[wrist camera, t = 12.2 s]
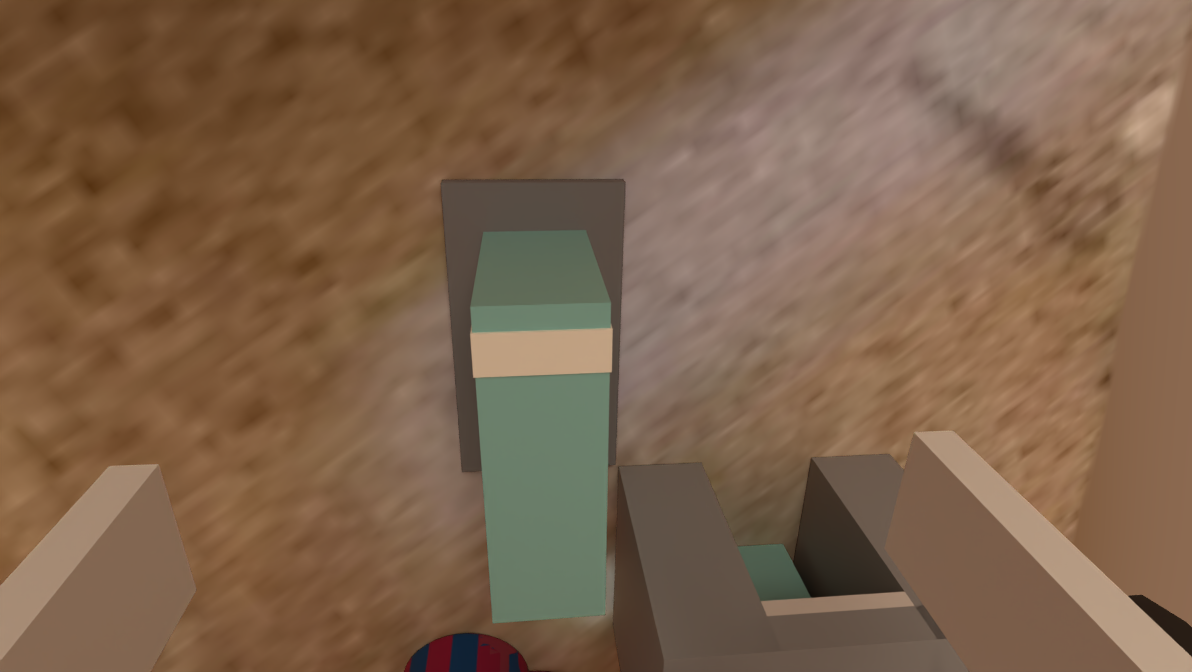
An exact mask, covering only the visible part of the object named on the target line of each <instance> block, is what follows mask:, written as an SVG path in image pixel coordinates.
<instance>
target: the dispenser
mask: <svg viewBox="0 0 1192 672" xmlns="http://www.w3.org/2000/svg"><path fill="white" fill-rule="evenodd" d="M903 473H904V470H903V469H902V468H901V466H900V465H899V464H898V463H897V462H896V461H895V460H894V459H893V457H892V456H891V455H890V454H880V455H858V456H836V457H814V458H812V459H811V464H810V470H809V476H808V482H807V488H806V493H805V499H804V505H803V511H802V517H801V522H800V528H799V534H798V540H797V546H796V551H795V557H794V563H793V562H792V560H791V558H790V556H789V554H788V552H787V550H786V549H785V547H784V545H783V544H770V545H753V546H737V545H736V542H735V540H734V538H733V535H732V533H731V531H730V528H729V526H728V524H727V521H726V519H725V517H724V514H723V512H722V510H721V507H720V505H719V503H718V500H717V498H716V496H715V493H714V491H713V489H712V486H711V484H710V482H709V479H708V477H707V475H706V472H705V470H704V468H703V465H702V463H683V464H661V465H639V466H619V474H618V501H617V527H616V554H615V581H614V607H613V628H614V634H615V640H616V646H617V652H618V659H619V665H620V671H621V672H969V670H968V669H967V667H966V666H965V664H964V663H963V662H962V660H961V659H960V657H959V656H958V654H957V653H956V651H955V650H954V648H953V647H952V646H951V644H950V643H949V641H948V640H947V638H946V637H945V635H944V634H943V633H942V631H941V630H940V628H939V627H938V625H937V624H936V622H935V621H934V620H933V618H932V617H931V615H930V614H929V612H928V611H927V609H926V608H925V607H924V605H923V604H922V602H921V601H920V599H919V598H918V596H917V595H916V593H915V592H914V591H913V589H912V588H911V586H910V585H909V583H908V582H907V580H906V579H905V578H904V576H903V575H902V573H901V572H900V570H899V569H898V567H897V566H896V565H895V563H894V562H893V560H892V559H891V557H890V556H889V554H888V553H887V552H886V550H885V549H884V548H885V544H886V540H887V536H888V532H889V528H890V524H891V520H892V516H893V512H894V508H895V505H896V501H897V497H898V493H899V489H900V485H901V481H902V477H903Z"/></svg>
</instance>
